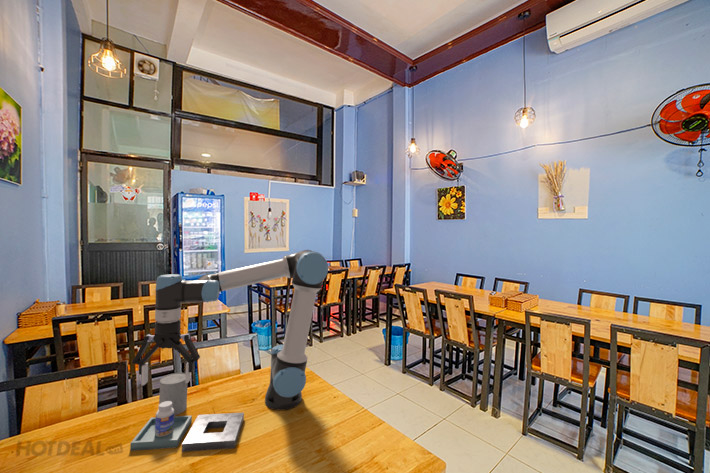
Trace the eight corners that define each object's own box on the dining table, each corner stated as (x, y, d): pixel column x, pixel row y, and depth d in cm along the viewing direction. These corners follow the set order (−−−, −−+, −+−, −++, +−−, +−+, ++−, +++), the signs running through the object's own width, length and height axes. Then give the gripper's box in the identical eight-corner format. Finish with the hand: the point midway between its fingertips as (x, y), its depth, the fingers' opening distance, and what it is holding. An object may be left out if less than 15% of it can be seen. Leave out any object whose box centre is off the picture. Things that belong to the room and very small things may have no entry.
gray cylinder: (173, 418, 115) (175, 385, 115) (152, 414, 117) (153, 382, 117) (192, 405, 124) (193, 374, 124) (171, 401, 126) (173, 371, 126)
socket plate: (243, 419, 117) (243, 412, 117) (234, 448, 101) (234, 440, 101) (198, 421, 114) (198, 414, 114) (181, 451, 98) (181, 444, 98)
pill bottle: (159, 439, 102) (161, 410, 102) (151, 433, 105) (152, 404, 105) (176, 431, 106) (177, 403, 106) (168, 425, 109) (169, 398, 109)
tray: (191, 422, 113) (191, 415, 113) (176, 447, 100) (177, 439, 100) (150, 424, 111) (151, 417, 111) (130, 450, 98) (130, 442, 98)
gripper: (120, 324, 100) (119, 390, 100) (203, 322, 104) (202, 385, 104) (133, 318, 107) (132, 379, 107) (210, 316, 111) (208, 375, 111)
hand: (166, 382), depth 106 cm, fingers open, 13 cm apart
